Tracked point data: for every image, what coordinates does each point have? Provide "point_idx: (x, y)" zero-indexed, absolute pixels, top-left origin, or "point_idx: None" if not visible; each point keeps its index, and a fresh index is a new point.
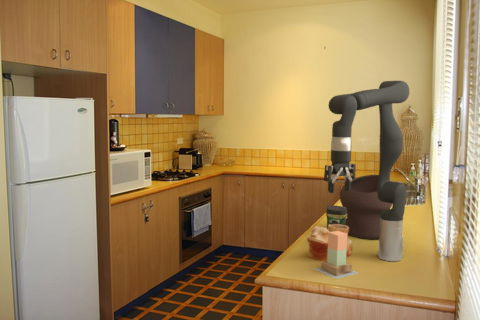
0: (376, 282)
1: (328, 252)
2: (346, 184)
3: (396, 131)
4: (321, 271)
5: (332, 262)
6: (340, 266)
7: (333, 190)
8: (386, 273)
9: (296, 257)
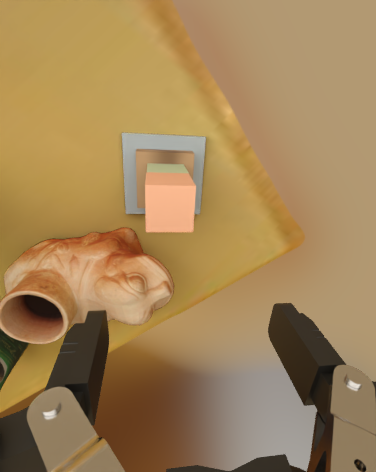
0: (115, 67)
1: None
2: (98, 377)
3: None
4: (196, 194)
5: None
6: (174, 158)
7: (290, 314)
8: (32, 99)
9: None
